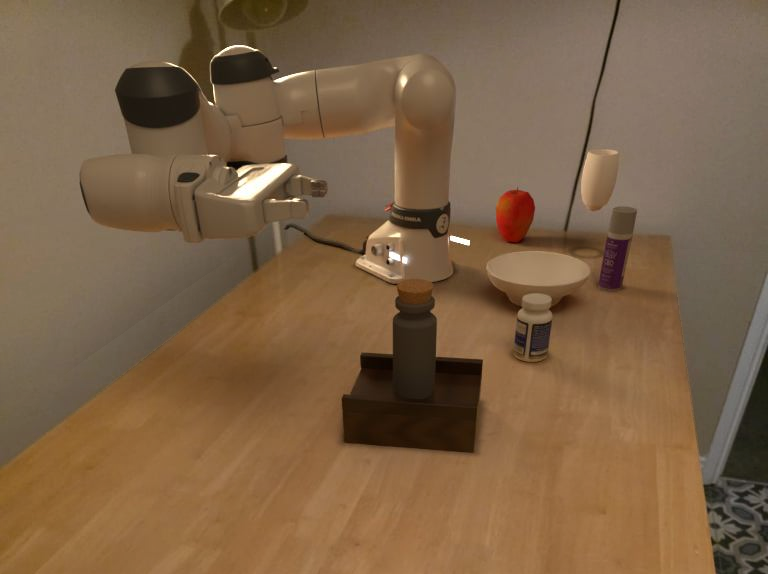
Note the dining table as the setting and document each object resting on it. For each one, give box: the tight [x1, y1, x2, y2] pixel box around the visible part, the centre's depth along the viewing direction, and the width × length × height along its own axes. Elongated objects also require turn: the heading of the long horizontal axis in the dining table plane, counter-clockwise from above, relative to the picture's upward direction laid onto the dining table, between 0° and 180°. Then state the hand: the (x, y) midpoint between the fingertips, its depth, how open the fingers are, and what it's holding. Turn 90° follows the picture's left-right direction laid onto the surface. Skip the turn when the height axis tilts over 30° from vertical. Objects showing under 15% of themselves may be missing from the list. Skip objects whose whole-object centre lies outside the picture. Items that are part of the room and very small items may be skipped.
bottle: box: [392, 279, 438, 399], centre depth 89 cm, size 6×6×15 cm
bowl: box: [485, 250, 592, 307], centre depth 129 cm, size 20×20×7 cm
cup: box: [580, 148, 620, 213], centre depth 147 cm, size 7×7×21 cm
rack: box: [341, 351, 484, 453], centre depth 95 cm, size 18×14×7 cm
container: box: [597, 206, 638, 292], centre depth 132 cm, size 5×5×15 cm
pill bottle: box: [513, 293, 553, 363], centre depth 110 cm, size 6×6×10 cm
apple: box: [495, 187, 536, 243], centre depth 157 cm, size 9×9×12 cm
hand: (317, 198), depth 80 cm, fingers open, 8 cm apart
